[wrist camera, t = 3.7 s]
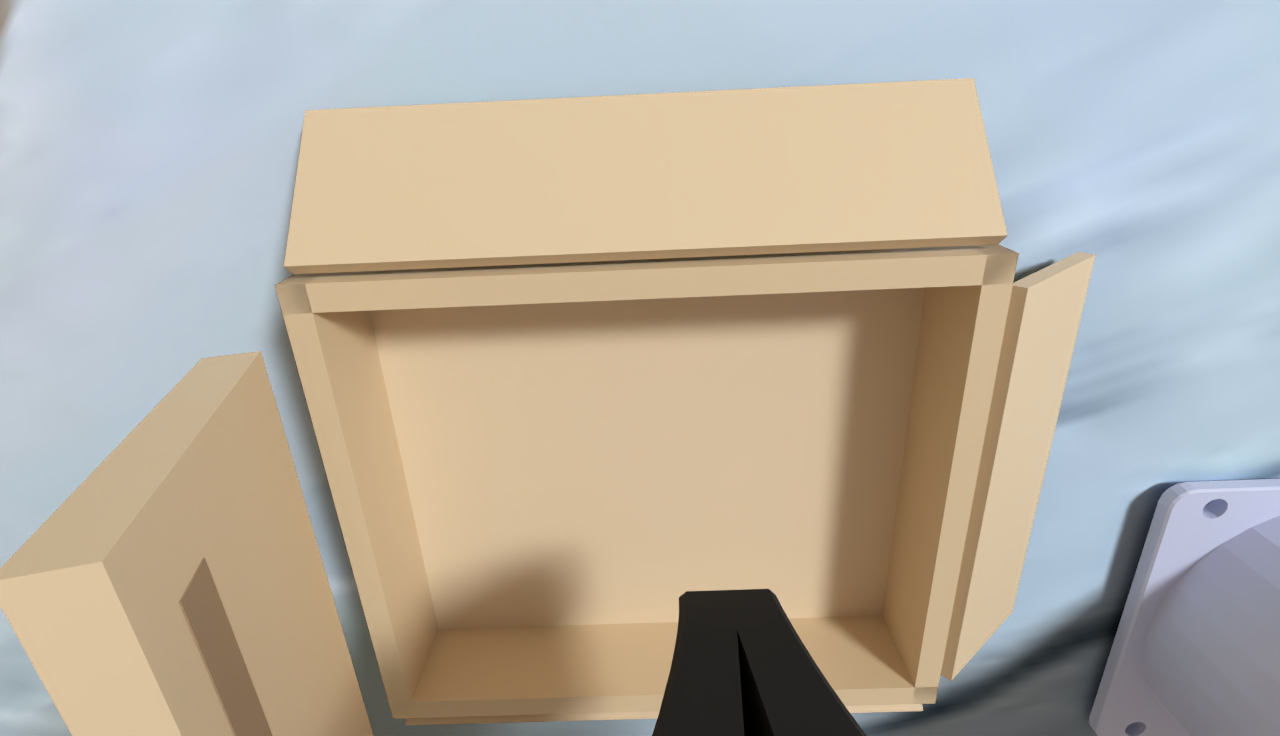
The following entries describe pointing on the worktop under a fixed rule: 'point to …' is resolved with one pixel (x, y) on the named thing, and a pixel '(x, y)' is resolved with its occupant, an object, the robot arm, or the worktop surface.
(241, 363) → the flap
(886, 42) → the worktop surface
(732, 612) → the robot arm
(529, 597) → the carton
